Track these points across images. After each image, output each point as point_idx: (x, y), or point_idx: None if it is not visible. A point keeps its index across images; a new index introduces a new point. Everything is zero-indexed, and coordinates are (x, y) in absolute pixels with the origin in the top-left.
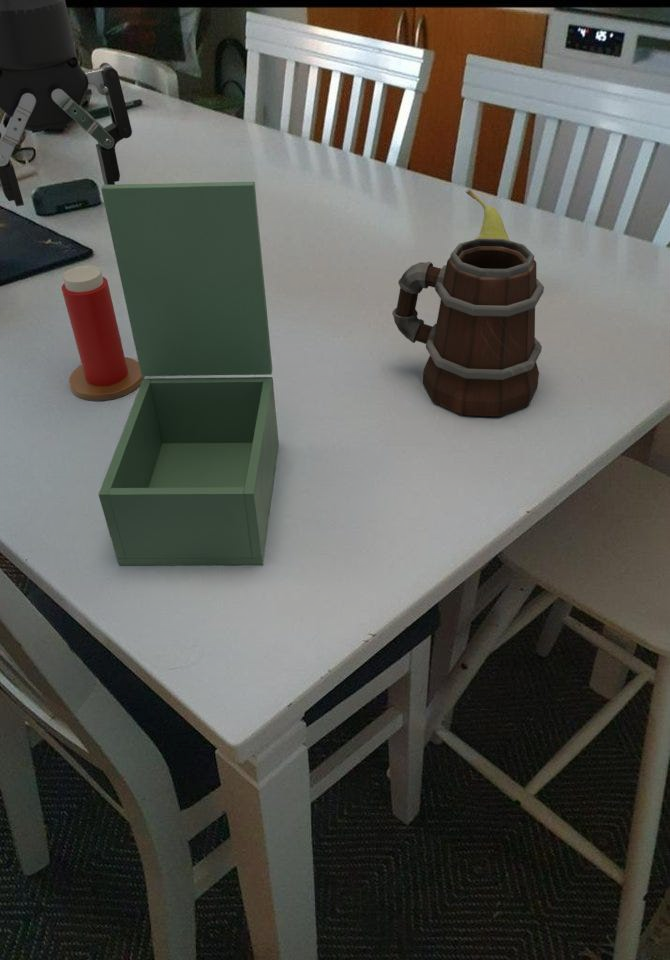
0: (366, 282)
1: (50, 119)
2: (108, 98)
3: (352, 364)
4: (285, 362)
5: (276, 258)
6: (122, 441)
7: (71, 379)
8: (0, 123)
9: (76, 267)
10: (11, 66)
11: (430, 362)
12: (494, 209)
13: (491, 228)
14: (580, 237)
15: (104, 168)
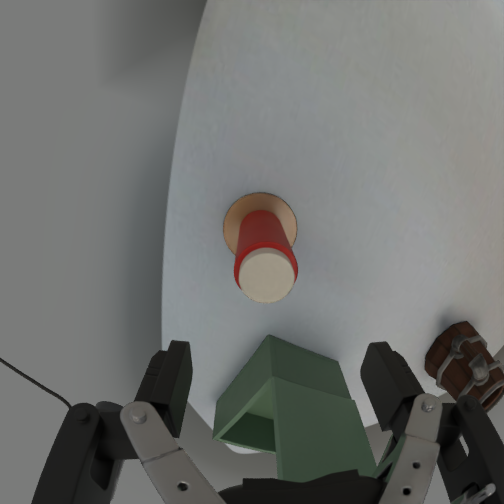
0: (496, 193)
1: None
2: (463, 483)
3: (428, 300)
4: (400, 276)
5: (470, 98)
6: (234, 419)
7: (226, 221)
8: (147, 474)
9: (265, 255)
10: None
11: (444, 353)
12: None
13: None
14: None
15: (372, 404)
